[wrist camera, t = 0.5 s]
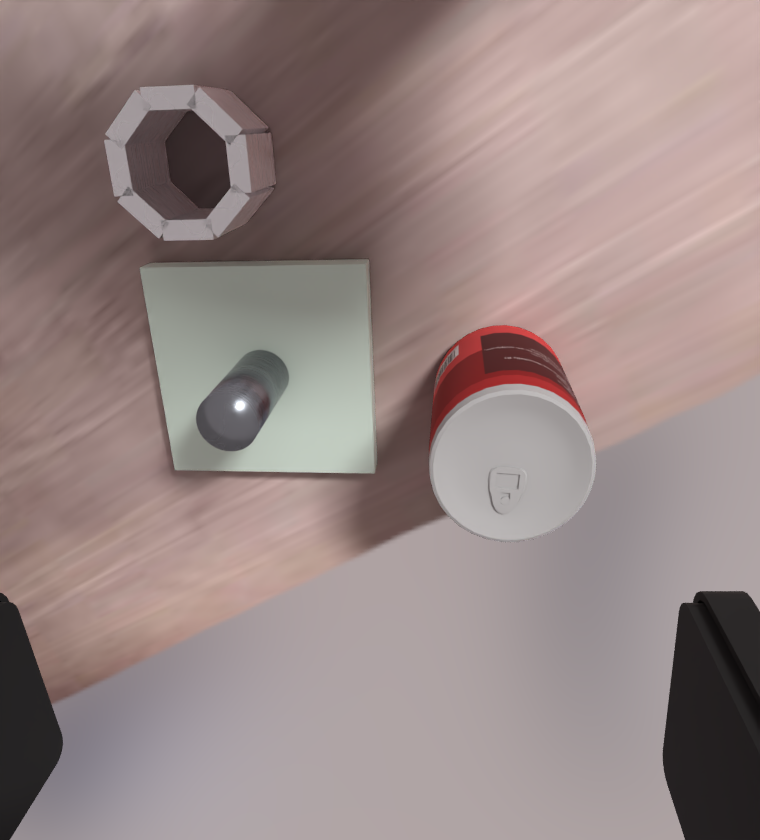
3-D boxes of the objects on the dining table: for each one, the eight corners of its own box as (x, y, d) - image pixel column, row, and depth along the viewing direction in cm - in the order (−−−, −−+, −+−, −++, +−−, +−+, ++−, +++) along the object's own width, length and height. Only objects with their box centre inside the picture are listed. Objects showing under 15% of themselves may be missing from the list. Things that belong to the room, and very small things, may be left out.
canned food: (448, 454, 43) (446, 554, 33) (421, 335, 40) (410, 406, 30) (571, 433, 42) (607, 531, 32) (552, 308, 39) (586, 374, 29)
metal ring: (139, 93, 37) (94, 89, 32) (267, 87, 36) (240, 82, 31) (160, 227, 39) (122, 241, 35) (279, 224, 39) (256, 238, 34)
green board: (150, 262, 40) (139, 267, 39) (368, 259, 39) (365, 264, 37) (183, 459, 45) (174, 470, 44) (377, 462, 44) (374, 473, 43)
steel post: (233, 349, 40) (191, 393, 34) (286, 349, 40) (254, 393, 34) (239, 400, 42) (200, 450, 35) (291, 400, 41) (261, 451, 35)
